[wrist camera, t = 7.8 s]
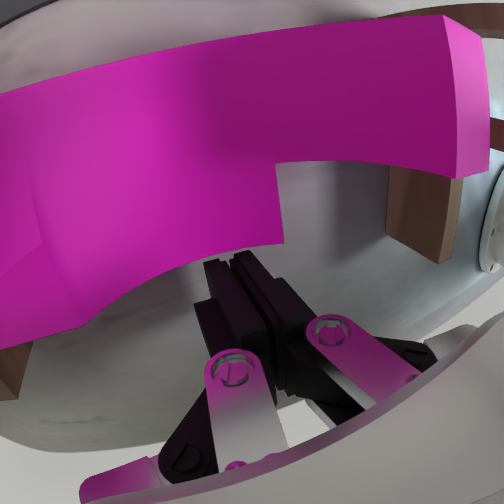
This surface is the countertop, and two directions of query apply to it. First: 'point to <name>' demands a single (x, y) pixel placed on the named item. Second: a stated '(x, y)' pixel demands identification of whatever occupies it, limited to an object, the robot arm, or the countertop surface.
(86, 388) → the countertop surface
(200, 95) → the toy block
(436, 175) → the tunnel
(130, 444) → the countertop surface
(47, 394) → the countertop surface
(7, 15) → the dark grey flat bar
